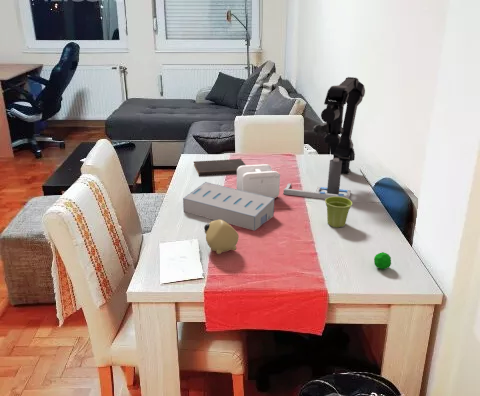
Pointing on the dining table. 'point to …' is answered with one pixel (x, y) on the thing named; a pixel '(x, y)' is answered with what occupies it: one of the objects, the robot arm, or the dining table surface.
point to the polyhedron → (382, 260)
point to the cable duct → (315, 193)
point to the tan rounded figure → (221, 236)
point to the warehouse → (229, 205)
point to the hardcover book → (218, 167)
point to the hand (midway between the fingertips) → (332, 154)
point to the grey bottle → (334, 176)
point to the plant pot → (337, 210)
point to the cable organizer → (258, 180)
